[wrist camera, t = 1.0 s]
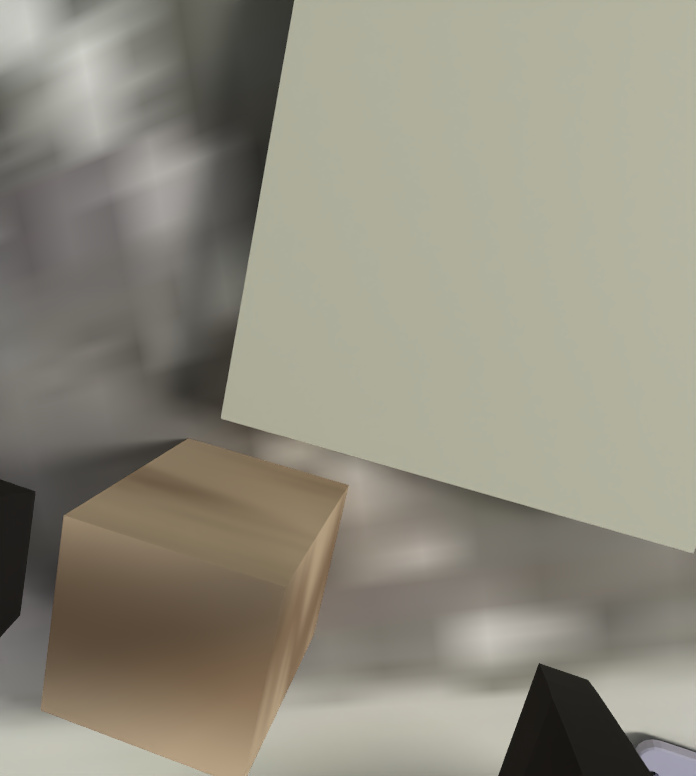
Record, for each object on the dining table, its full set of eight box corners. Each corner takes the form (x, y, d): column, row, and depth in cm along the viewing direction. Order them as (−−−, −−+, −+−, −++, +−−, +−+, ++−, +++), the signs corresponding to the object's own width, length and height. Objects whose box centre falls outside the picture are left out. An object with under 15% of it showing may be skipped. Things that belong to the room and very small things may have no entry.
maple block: (314, 633, 20) (242, 786, 14) (164, 583, 21) (40, 709, 15) (349, 484, 19) (285, 586, 13) (189, 437, 20) (63, 515, 14)
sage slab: (660, 501, 17) (693, 553, 14) (262, 392, 19) (220, 418, 16) (827, 44, 14) (909, -6, 12) (343, -35, 16) (311, -96, 13)
